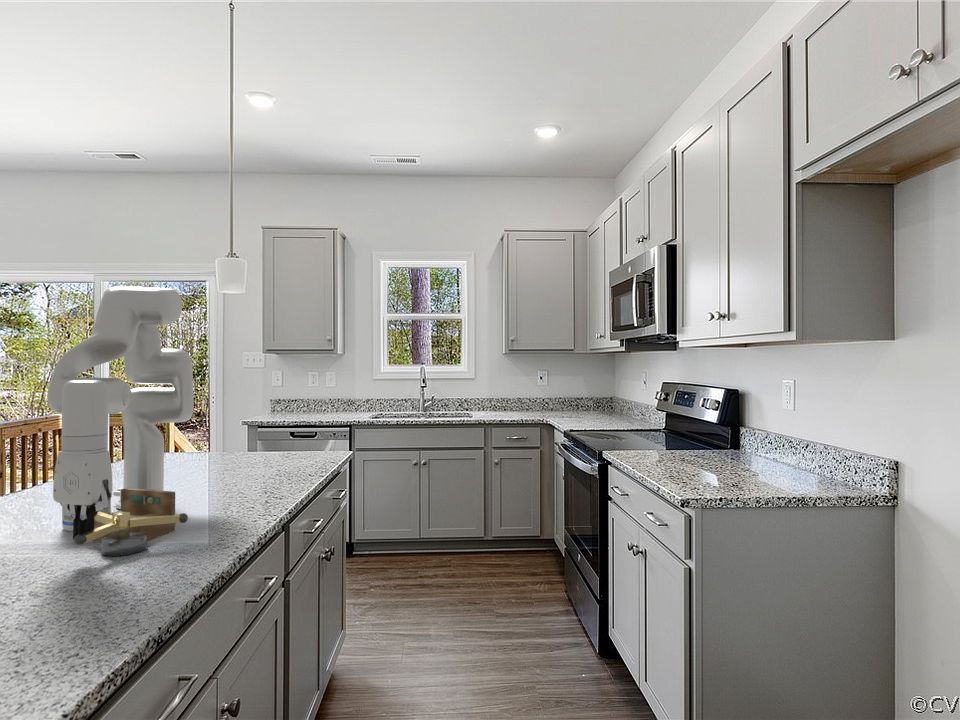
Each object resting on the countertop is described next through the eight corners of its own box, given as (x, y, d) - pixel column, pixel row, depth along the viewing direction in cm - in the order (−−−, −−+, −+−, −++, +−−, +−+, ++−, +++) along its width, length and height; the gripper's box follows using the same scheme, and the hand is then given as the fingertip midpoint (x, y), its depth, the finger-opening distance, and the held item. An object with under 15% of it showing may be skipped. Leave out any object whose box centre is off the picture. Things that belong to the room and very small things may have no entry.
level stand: (87, 537, 133) (88, 496, 133) (124, 526, 142) (125, 487, 142) (139, 543, 129) (140, 501, 129) (174, 531, 139) (175, 491, 139)
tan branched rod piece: (20, 567, 113) (21, 528, 113) (93, 538, 132) (93, 504, 132) (132, 572, 111) (132, 532, 111) (189, 541, 130) (190, 507, 130)
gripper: (36, 444, 116) (35, 540, 116) (98, 448, 112) (97, 548, 112) (72, 439, 123) (71, 529, 123) (132, 443, 119) (130, 536, 119)
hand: (83, 538), depth 117 cm, fingers closed
